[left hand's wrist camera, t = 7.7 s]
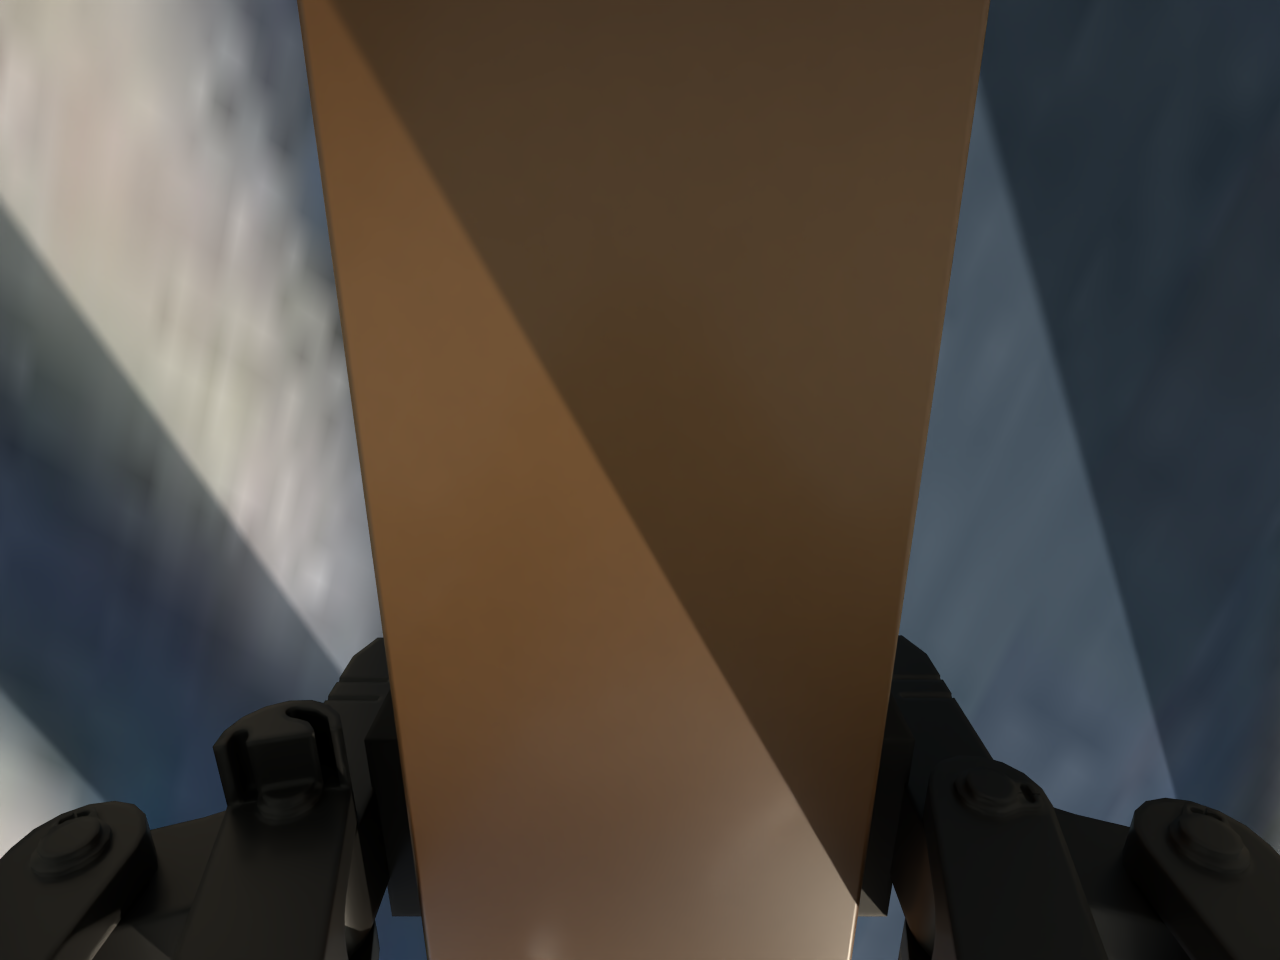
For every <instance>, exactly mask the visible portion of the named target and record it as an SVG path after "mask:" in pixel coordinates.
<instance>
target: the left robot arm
mask: <svg viewBox="0 0 1280 960" xmlns="http://www.w3.org/2000/svg"><path fill="white" fill-rule="evenodd" d="M213 750H214V754H215V758H216V762H217V766H218V770H219V774H220V778H221V782H222V786H223V790H224V794H225V798H226V802H227V809H226V811H223V812H220V813H217V814H213V815H210V816H207V817H204V818H199V819H195V820H191V821H187V822H183V823H178V824H174V825H170V826H166V827H161V828H157V829H153V830H150V828H149V825H148V822H147V818H146V815H145V813H143V812H142V811H141V810H140V809H139V808H138V807H137V806H135V805H134V804H129V803H124V802H118V801H111V802H103V803H96V804H89V805H86V806H83V807H80V808H78V809H75V810H72V811H69V812H66V813H63V814H61V815H59V816H57V817H55V818H53V819H52V820H50V821H48V822H46V823H44V824H43V825H41V826H39V827H37V828H35V829H34V830H32V831H31V832H30V833H29V834H28V835H26V836H25V837H24V838H23V839H21V840H20V841H19V842H18V843H17V844H15V845H14V846H13V847H12V848H11V849H10V850H9V851H8V852H7V853H6V854H5V855H4V856H3V857H2V858H1V859H0V960H379V949H380V948H379V941H378V934H377V928H376V922H375V917H376V914H377V912H378V909H379V906H380V904H381V901H382V898H383V895H384V893H385V890H386V887H388V893H389V899H390V905H391V911H392V916H421V910H420V903H419V895H418V888H417V880H416V873H415V866H414V858H413V851H412V844H411V836H410V829H409V822H408V814H407V807H406V799H405V792H404V785H403V777H402V770H401V763H400V755H399V748H398V741H397V733H396V726H395V718H394V711H393V704H392V696H391V689H390V682H389V674H388V667H387V659H386V652H385V645H384V638H377V639H375V640H374V641H373V642H371V643H370V644H369V645H367V646H366V647H365V648H363V649H362V650H361V651H359V652H358V653H357V654H355V655H354V656H353V657H352V659H351V660H350V662H349V664H348V665H347V667H346V668H345V670H344V672H343V673H342V675H341V676H340V680H339V682H337V683H336V684H335V686H334V688H333V689H332V691H331V692H330V694H329V695H328V700H325V702H324V703H321V702H317V701H313V700H297V701H286V702H282V703H278V704H274V705H270V706H266V707H264V708H261V709H259V710H257V711H255V712H253V713H251V714H248V715H246V716H244V717H242V718H241V719H240V720H238V721H237V722H236V723H234V724H233V725H232V726H230V727H229V728H228V729H226V730H225V731H224V732H223V733H222V735H221V736H220V737H219V739H218V740H217V742H216V743H215V744H214V746H213ZM892 883H893V886H894V888H895V891H896V894H897V896H898V899H899V902H900V904H901V907H902V910H903V913H904V915H905V922H904V928H903V933H902V939H901V945H900V951H899V957H898V960H1280V855H1279V854H1278V853H1277V852H1276V851H1275V850H1274V849H1273V848H1272V847H1271V846H1270V845H1269V844H1268V843H1267V842H1265V841H1264V840H1263V839H1262V838H1260V837H1259V836H1258V835H1257V834H1256V833H1254V832H1253V831H1252V830H1251V829H1249V828H1248V827H1247V826H1245V825H1244V824H1242V823H1240V822H1238V821H1236V820H1235V819H1233V818H1231V817H1229V816H1227V815H1225V814H1224V813H1222V812H1220V811H1218V810H1215V809H1212V808H1209V807H1206V806H1203V805H1200V804H1197V803H1195V802H1192V801H1186V800H1178V799H1170V798H1161V799H1156V800H1150V801H1146V802H1144V803H1143V804H1142V805H1141V806H1140V807H1139V808H1138V809H1136V810H1135V812H1134V815H1133V819H1132V822H1131V825H1130V827H1127V826H1123V825H1119V824H1114V823H1110V822H1106V821H1102V820H1097V819H1093V818H1089V817H1085V816H1080V815H1076V814H1073V813H1070V812H1066V811H1063V810H1060V809H1057V808H1054V807H1053V805H1052V804H1051V802H1050V801H1049V799H1048V797H1047V796H1046V794H1045V793H1044V791H1043V789H1042V788H1041V787H1039V786H1038V785H1037V784H1036V783H1035V782H1034V781H1032V780H1031V779H1030V778H1029V777H1028V776H1027V775H1025V774H1024V773H1022V772H1020V771H1018V770H1016V769H1014V768H1012V767H1010V766H1009V765H1007V764H1005V763H1003V762H999V761H996V760H993V758H992V757H991V755H990V754H989V752H988V750H987V749H986V747H985V746H984V744H983V743H982V741H981V739H980V738H979V736H978V735H977V733H976V731H975V730H974V728H973V727H972V725H971V724H970V722H969V720H968V719H967V717H966V716H965V714H964V712H963V711H962V709H961V708H960V706H959V705H958V703H957V701H956V700H955V698H952V696H951V692H950V690H949V689H948V687H947V686H946V684H945V682H944V681H943V680H941V679H940V674H939V673H938V671H937V670H936V668H935V667H934V665H933V663H932V662H931V660H930V659H929V657H928V655H927V654H926V653H925V652H923V651H922V650H921V649H919V648H918V647H917V646H915V645H914V644H913V643H911V642H910V641H909V640H907V639H906V638H905V637H903V636H902V635H898V641H897V647H896V654H895V661H894V668H893V675H892V682H891V689H890V696H889V703H888V710H887V717H886V723H885V730H884V737H883V744H882V751H881V758H880V765H879V772H878V779H877V786H876V792H875V799H874V806H873V813H872V820H871V827H870V834H869V841H868V848H867V855H866V862H865V868H864V875H863V882H862V889H861V896H860V903H859V910H858V916H887V914H888V907H889V901H890V895H891V889H892Z"/></svg>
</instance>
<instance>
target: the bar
mask: <svg viewBox="0 0 1280 960" xmlns="http://www.w3.org/2000/svg"><path fill="white" fill-rule="evenodd" d="M297 4H298V11H299V19H300V26H301V33H302V41H303V48H304V56H305V63H306V70H307V78H308V85H309V92H310V100H311V107H312V114H313V122H314V129H315V137H316V144H317V151H318V159H319V166H320V173H321V181H322V188H323V195H324V203H325V210H326V218H327V225H328V232H329V240H330V247H331V254H332V262H333V269H334V276H335V284H336V291H337V299H338V306H339V313H340V321H341V328H342V335H343V343H344V350H345V357H346V365H347V372H348V380H349V387H350V394H351V402H352V409H353V416H354V424H355V431H356V439H357V446H358V453H359V461H360V468H361V475H362V483H363V490H364V497H365V505H366V512H367V520H368V527H369V534H370V542H371V549H372V556H373V564H374V571H375V578H376V586H377V593H378V601H379V608H380V615H381V623H382V630H383V637H384V645H385V652H386V659H387V667H388V674H389V682H390V689H391V696H392V704H393V711H394V718H395V726H396V733H397V741H398V748H399V755H400V763H401V770H402V777H403V785H404V792H405V799H406V807H407V814H408V822H409V829H410V836H411V844H412V851H413V858H414V866H415V873H416V880H417V888H418V895H419V903H420V910H421V917H422V925H423V932H424V939H425V947H426V954H427V960H851V958H852V951H853V944H854V938H855V931H856V924H857V917H858V910H859V903H860V896H861V889H862V882H863V875H864V868H865V862H866V855H867V848H868V841H869V834H870V827H871V820H872V813H873V806H874V799H875V792H876V786H877V779H878V772H879V765H880V758H881V751H882V744H883V737H884V730H885V723H886V717H887V710H888V703H889V696H890V689H891V682H892V675H893V668H894V661H895V654H896V647H897V641H898V634H899V627H900V620H901V613H902V606H903V599H904V592H905V585H906V578H907V571H908V565H909V558H910V551H911V544H912V537H913V530H914V523H915V516H916V509H917V502H918V496H919V489H920V482H921V475H922V468H923V461H924V454H925V447H926V440H927V433H928V426H929V420H930V413H931V406H932V399H933V392H934V385H935V378H936V371H937V364H938V357H939V350H940V344H941V337H942V330H943V323H944V316H945V309H946V302H947V295H948V288H949V281H950V275H951V268H952V261H953V254H954V247H955V240H956V233H957V226H958V219H959V212H960V205H961V199H962V192H963V185H964V178H965V171H966V164H967V157H968V150H969V143H970V136H971V130H972V123H973V116H974V109H975V102H976V95H977V88H978V81H979V74H980V67H981V60H982V54H983V47H984V40H985V33H986V26H987V19H988V12H989V5H990V0H297Z"/></svg>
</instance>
